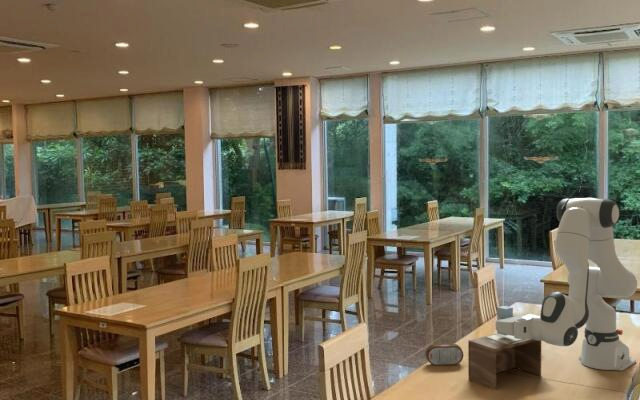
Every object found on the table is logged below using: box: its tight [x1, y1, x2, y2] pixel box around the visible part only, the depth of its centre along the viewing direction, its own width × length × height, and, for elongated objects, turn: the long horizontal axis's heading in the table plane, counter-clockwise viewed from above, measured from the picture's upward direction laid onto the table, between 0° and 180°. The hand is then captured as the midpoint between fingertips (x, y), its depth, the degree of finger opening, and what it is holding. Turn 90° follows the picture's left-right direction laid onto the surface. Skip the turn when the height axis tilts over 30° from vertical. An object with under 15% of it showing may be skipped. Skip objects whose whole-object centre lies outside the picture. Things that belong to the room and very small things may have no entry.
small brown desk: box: [467, 332, 542, 391], centre depth 240 cm, size 26×13×15 cm, turn 123°
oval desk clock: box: [425, 343, 464, 366], centre depth 256 cm, size 15×3×8 cm, turn 92°
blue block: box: [496, 305, 514, 336], centre depth 239 cm, size 4×4×10 cm
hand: (503, 318), depth 239 cm, fingers closed on blue block, 4 cm apart
